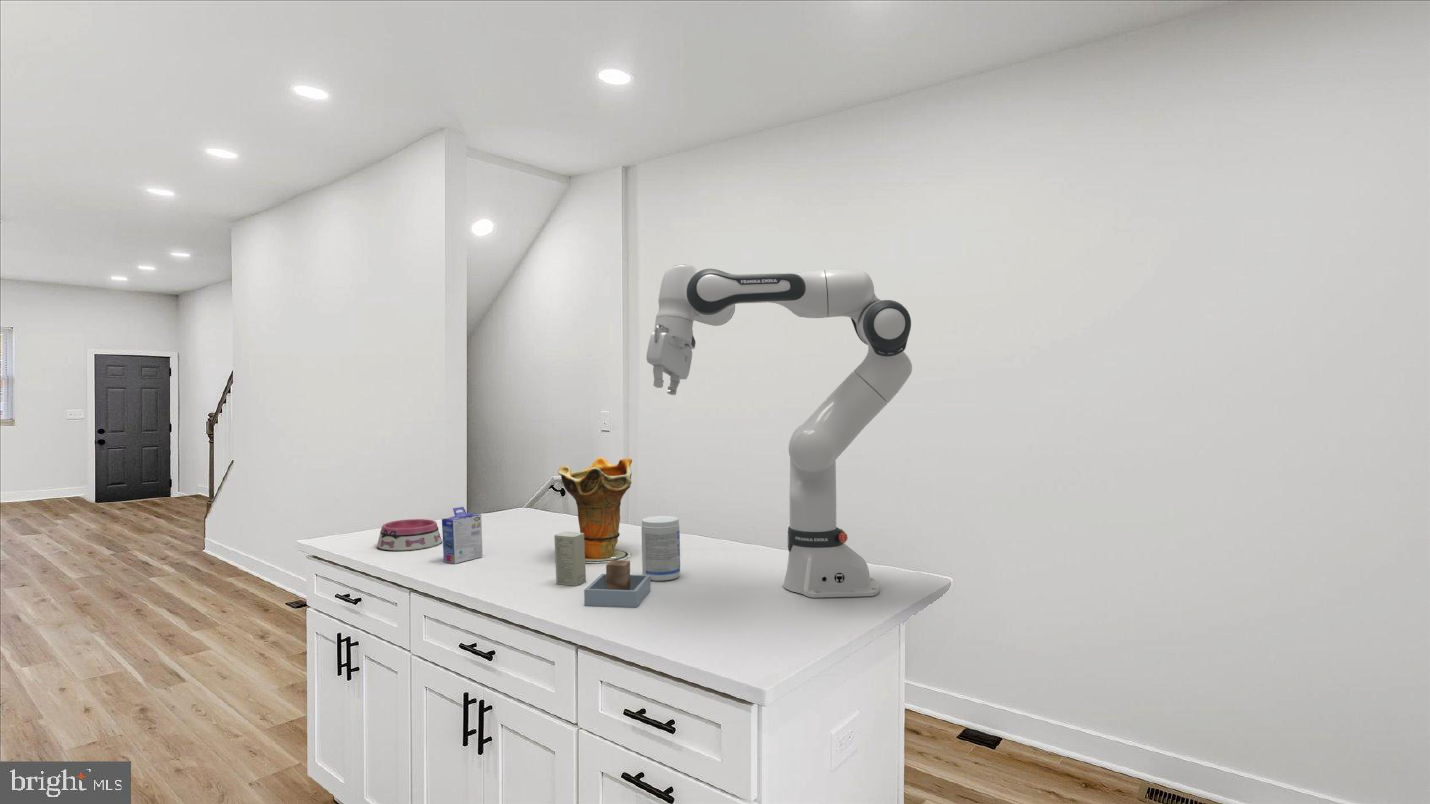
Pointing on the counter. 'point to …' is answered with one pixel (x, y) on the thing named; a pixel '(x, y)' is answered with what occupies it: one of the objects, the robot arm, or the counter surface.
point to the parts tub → (617, 592)
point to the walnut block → (618, 575)
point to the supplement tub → (661, 547)
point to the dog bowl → (409, 535)
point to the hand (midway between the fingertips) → (664, 391)
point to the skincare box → (570, 558)
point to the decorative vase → (599, 505)
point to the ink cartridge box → (462, 537)
